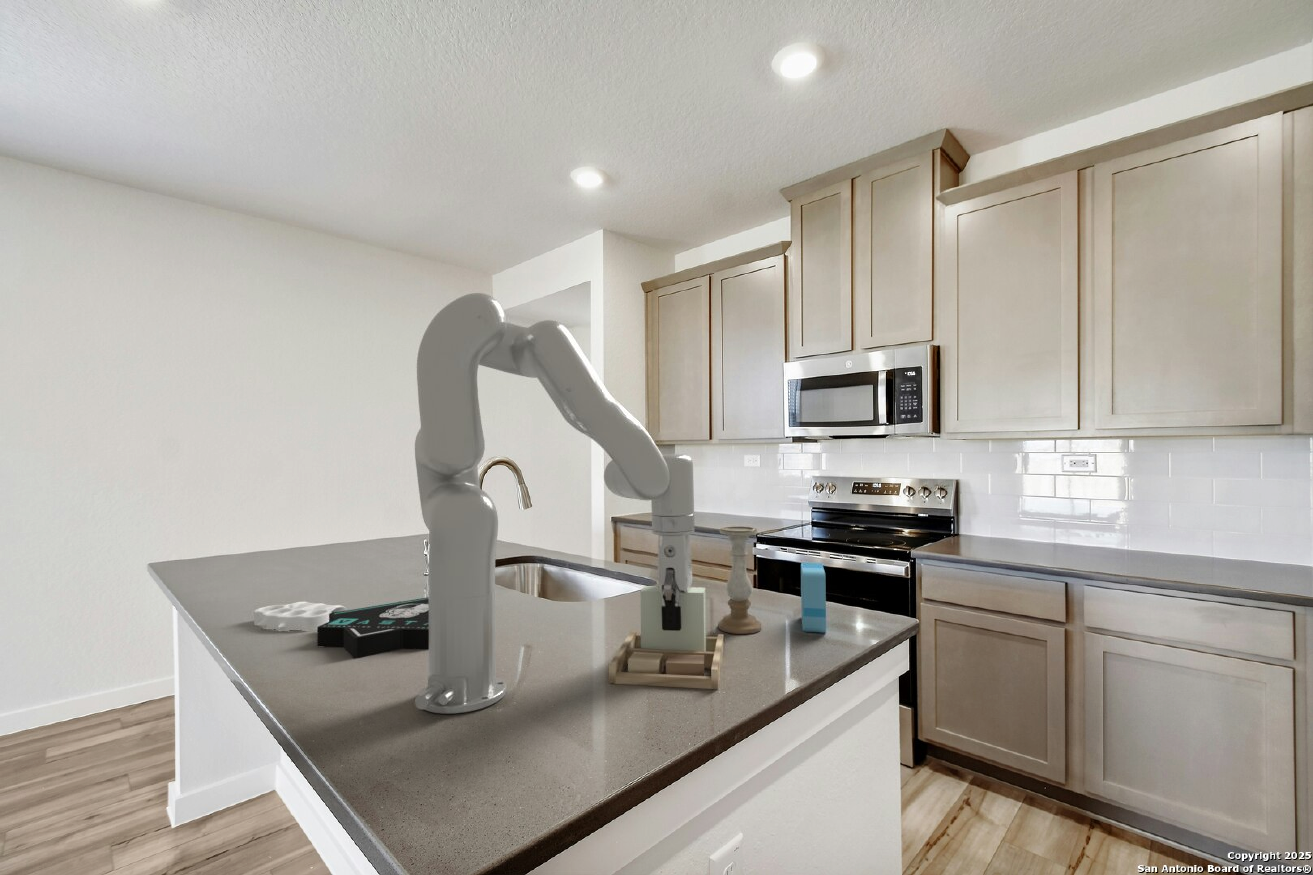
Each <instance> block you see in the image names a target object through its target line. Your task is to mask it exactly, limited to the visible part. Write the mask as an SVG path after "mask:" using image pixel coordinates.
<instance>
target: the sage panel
mask: <svg viewBox="0 0 1313 875" xmlns="http://www.w3.org/2000/svg"><path fill="white" fill-rule="evenodd" d="M674 595H675V597H676V594H674ZM662 597H663V592H661V591H660V588H659V586H658V585H657V586H656V585H655V586H654V585H644V586H643V587H642V589H641V590H640V634H641V648H642V649H665V650H687V651H706V637H707V633H706V632H707V630H706V629H707V626H706V625H707V624H706V623H707V617H706V614H707V611H706V604H707V603H706V587H700V586H699V587H696V586H695V587H694V586H690V588H689V590H688V591H687V592H686V593H684V591H680V597H679V606H681V630H680V631H669V630H663V629H662Z"/></svg>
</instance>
